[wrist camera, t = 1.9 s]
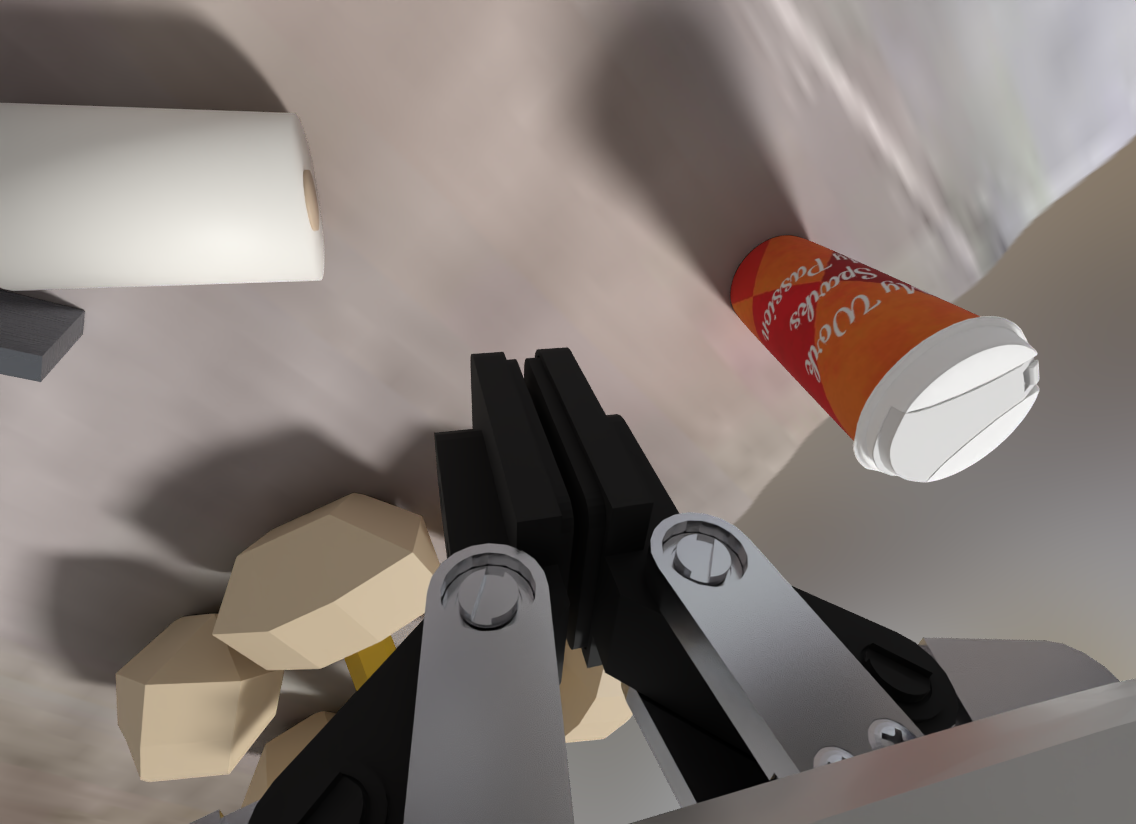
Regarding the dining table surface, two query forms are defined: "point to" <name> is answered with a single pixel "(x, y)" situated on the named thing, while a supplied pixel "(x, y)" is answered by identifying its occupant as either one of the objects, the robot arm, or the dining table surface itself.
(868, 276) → the paper cup
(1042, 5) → the dining table surface
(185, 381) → the dining table surface
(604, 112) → the dining table surface
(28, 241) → the roll
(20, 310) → the holder
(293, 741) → the campfire
